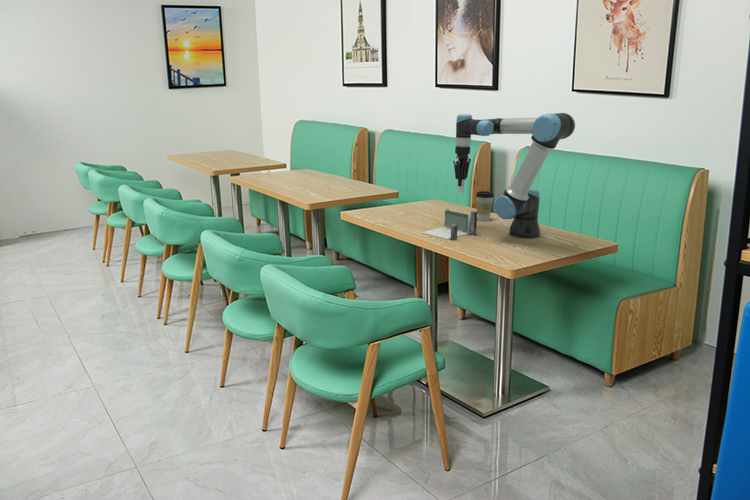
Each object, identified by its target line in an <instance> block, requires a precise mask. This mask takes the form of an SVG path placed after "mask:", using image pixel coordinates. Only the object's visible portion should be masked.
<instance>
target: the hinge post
mask: <svg viewBox="0 0 750 500" xmlns="http://www.w3.org/2000/svg"><path fill="white" fill-rule="evenodd" d="M470 214H471V232H469V234H470V235H471V236H476V235H477V223H478V212H477V210H476V211H475V210H474V211H470Z"/></svg>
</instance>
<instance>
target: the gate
mask: <svg viewBox="0 0 750 500" xmlns="http://www.w3.org/2000/svg"><path fill="white" fill-rule="evenodd" d="M452 224H457V226H458V227H457V230H459V231H463V232H467V233H470V232H471V213H463V212H459V211H453V210H450V208H449V207H445V210H444V227H445V228H450V229H451V225H452Z"/></svg>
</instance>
